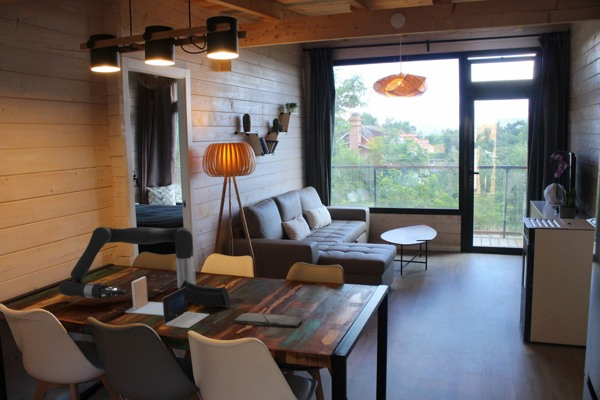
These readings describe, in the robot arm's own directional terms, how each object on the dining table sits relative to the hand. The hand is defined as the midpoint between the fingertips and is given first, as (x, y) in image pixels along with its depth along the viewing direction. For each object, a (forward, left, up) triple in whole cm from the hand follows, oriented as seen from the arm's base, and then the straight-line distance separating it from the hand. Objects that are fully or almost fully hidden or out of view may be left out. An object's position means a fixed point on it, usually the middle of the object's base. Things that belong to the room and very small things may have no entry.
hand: (124, 292), depth 263 cm
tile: (-6, +6, -7) cm, 11 cm away
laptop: (-21, +36, -8) cm, 43 cm away
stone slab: (-52, +58, -8) cm, 79 cm away
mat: (-11, +11, -7) cm, 17 cm away
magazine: (-34, +18, -7) cm, 40 cm away
